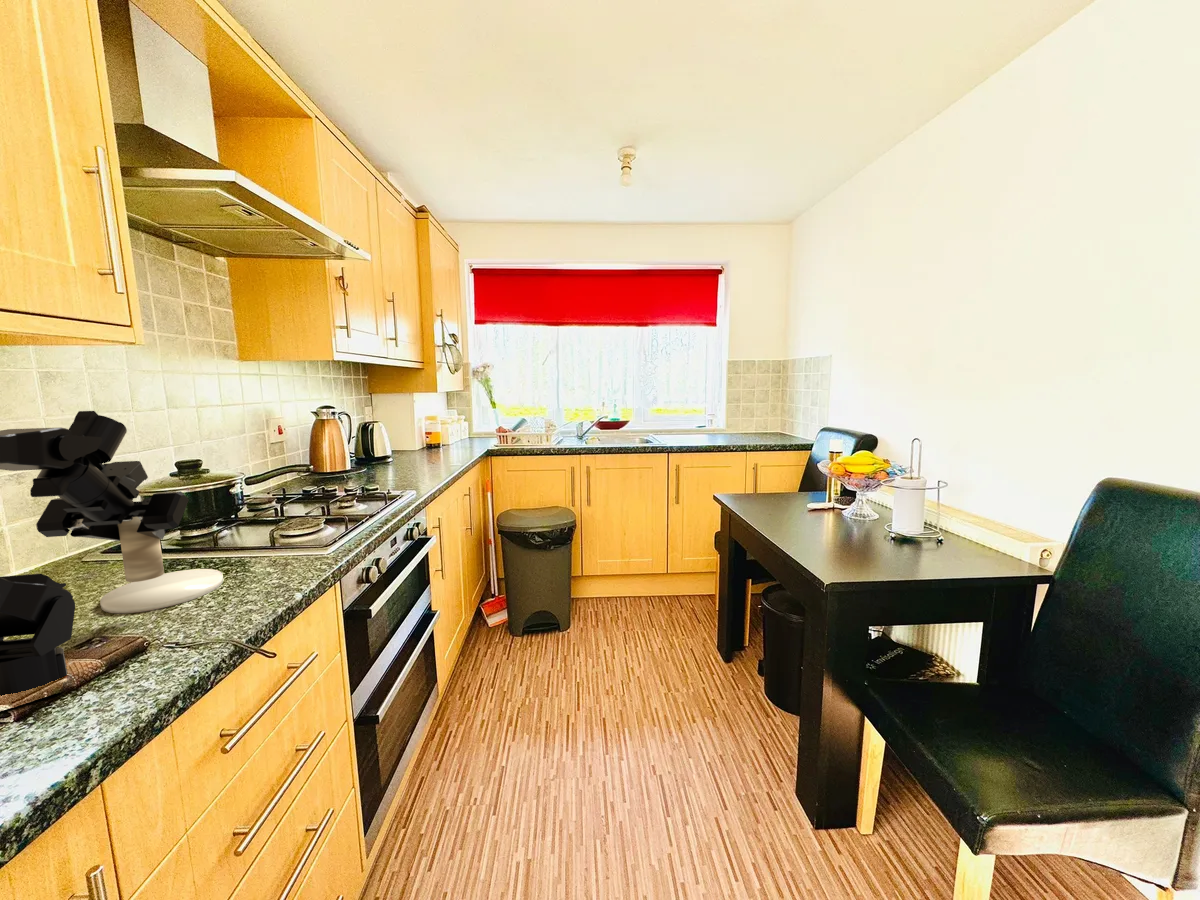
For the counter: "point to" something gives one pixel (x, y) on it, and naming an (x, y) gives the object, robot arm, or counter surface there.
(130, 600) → the plate
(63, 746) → the counter surface
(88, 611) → the counter surface
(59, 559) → the counter surface
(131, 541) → the pepper mill
